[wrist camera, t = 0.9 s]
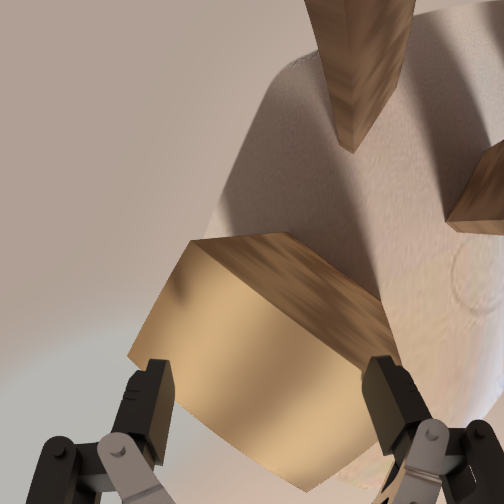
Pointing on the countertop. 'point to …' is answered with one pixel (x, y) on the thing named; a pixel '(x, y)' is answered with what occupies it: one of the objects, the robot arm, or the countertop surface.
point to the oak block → (270, 351)
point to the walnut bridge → (390, 92)
